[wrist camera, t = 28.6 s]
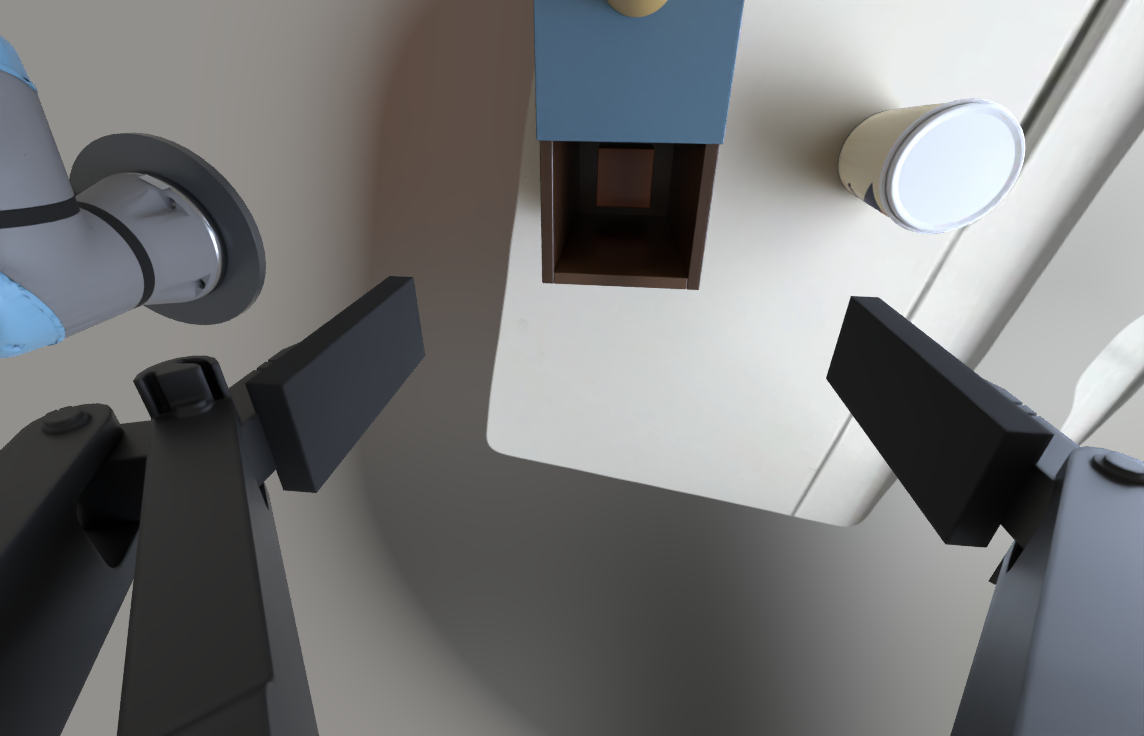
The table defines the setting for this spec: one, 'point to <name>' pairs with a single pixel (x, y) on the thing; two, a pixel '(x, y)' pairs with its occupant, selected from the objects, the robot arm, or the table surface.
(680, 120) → the sliding lid
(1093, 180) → the table surface
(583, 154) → the box
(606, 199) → the block
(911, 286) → the table surface
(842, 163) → the coffee cup
